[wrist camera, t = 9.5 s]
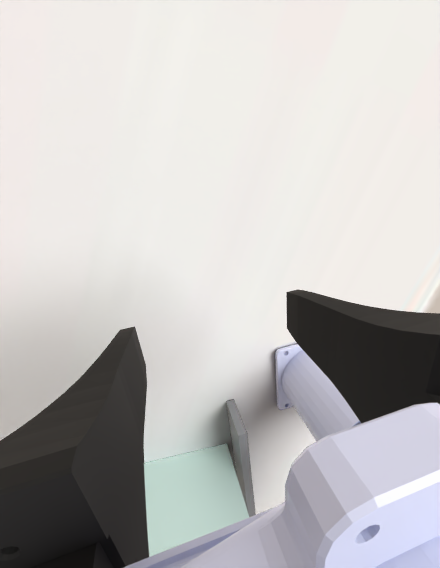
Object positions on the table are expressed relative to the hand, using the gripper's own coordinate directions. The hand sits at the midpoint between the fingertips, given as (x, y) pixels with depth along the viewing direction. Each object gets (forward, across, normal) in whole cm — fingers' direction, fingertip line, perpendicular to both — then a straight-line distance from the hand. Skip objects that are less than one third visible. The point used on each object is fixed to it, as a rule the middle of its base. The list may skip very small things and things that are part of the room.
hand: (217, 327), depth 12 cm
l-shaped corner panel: (+10, +6, +26) cm, 29 cm away
